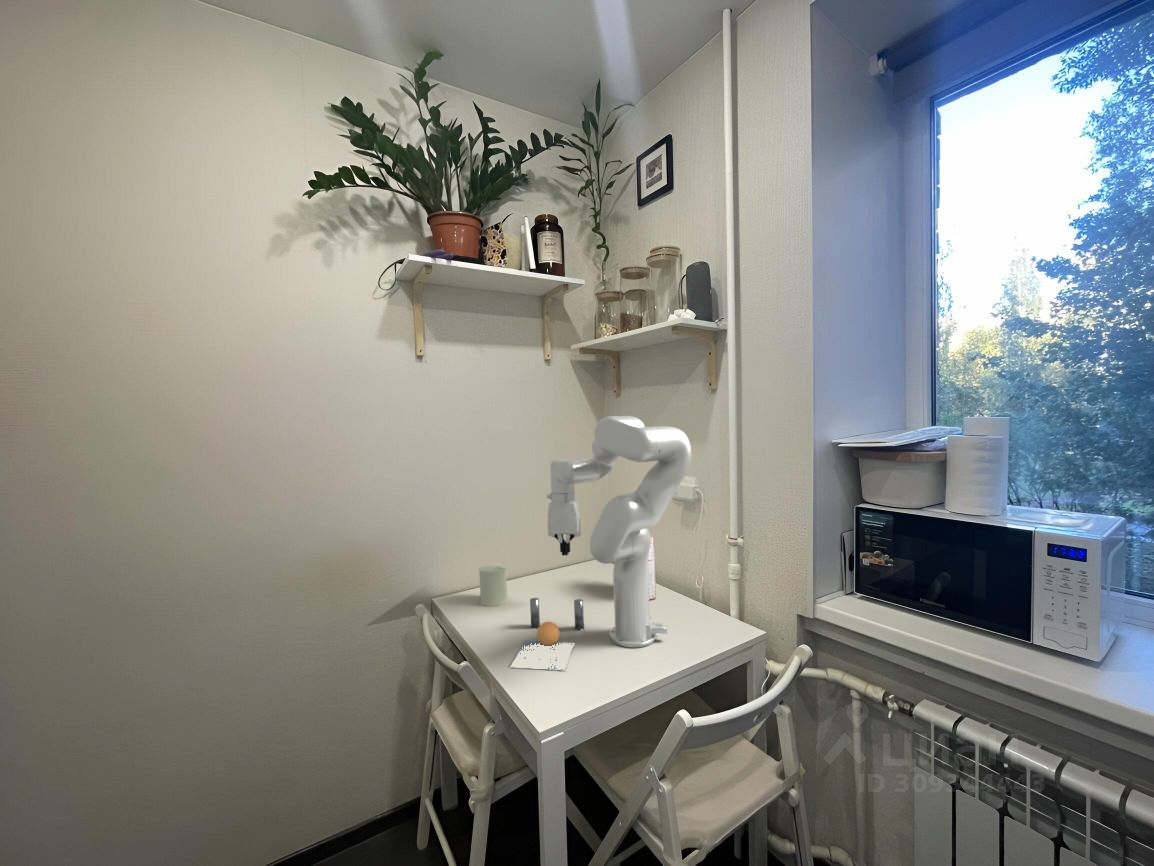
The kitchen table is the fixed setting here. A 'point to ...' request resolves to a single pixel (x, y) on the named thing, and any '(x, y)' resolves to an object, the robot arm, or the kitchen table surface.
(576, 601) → the inner post
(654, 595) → the cracker box
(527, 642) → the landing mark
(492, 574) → the can
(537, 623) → the outer post
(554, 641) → the ball
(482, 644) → the kitchen table surface
